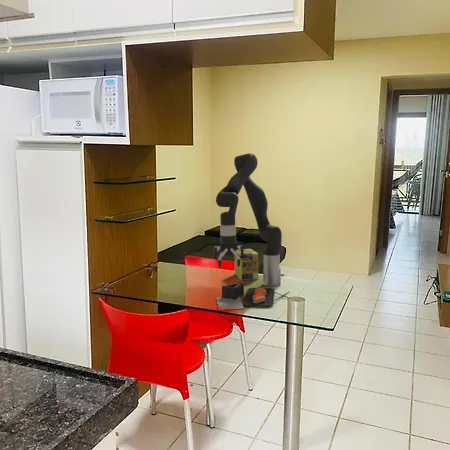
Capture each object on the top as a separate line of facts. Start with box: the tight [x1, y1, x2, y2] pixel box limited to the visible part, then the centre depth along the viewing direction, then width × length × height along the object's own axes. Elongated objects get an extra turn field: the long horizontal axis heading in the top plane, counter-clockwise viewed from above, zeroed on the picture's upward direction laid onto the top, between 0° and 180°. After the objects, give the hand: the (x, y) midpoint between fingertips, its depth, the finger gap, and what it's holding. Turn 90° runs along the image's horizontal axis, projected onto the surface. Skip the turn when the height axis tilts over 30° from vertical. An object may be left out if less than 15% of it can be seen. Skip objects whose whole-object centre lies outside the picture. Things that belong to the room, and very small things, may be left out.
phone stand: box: [221, 282, 245, 300], centre depth 235 cm, size 9×6×12 cm
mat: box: [215, 296, 245, 310], centre depth 224 cm, size 12×18×1 cm, turn 4°
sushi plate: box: [242, 287, 290, 307], centre depth 231 cm, size 29×30×4 cm
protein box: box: [234, 248, 259, 282], centre depth 273 cm, size 10×15×16 cm
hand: (229, 267), depth 222 cm, fingers open, 8 cm apart
